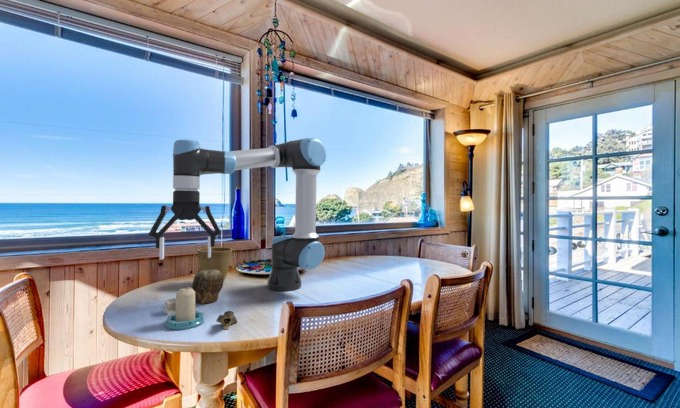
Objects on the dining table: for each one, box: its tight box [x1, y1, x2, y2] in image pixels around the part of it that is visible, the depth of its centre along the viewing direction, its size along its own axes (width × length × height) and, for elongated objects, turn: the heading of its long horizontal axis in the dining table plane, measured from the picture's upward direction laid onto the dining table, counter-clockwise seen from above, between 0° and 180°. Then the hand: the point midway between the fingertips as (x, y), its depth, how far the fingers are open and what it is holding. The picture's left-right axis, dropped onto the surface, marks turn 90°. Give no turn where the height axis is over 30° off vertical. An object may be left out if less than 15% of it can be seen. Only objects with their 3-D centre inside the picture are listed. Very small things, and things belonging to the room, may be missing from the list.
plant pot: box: [196, 246, 233, 283], centre depth 149 cm, size 15×15×16 cm
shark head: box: [216, 310, 238, 331], centre depth 101 cm, size 8×6×7 cm
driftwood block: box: [164, 297, 176, 316], centre depth 113 cm, size 5×5×4 cm
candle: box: [175, 286, 196, 322], centre depth 103 cm, size 6×6×10 cm
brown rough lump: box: [191, 269, 224, 304], centre depth 125 cm, size 11×11×12 cm
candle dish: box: [164, 310, 205, 331], centre depth 103 cm, size 11×11×2 cm
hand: (186, 258), depth 103 cm, fingers open, 13 cm apart
